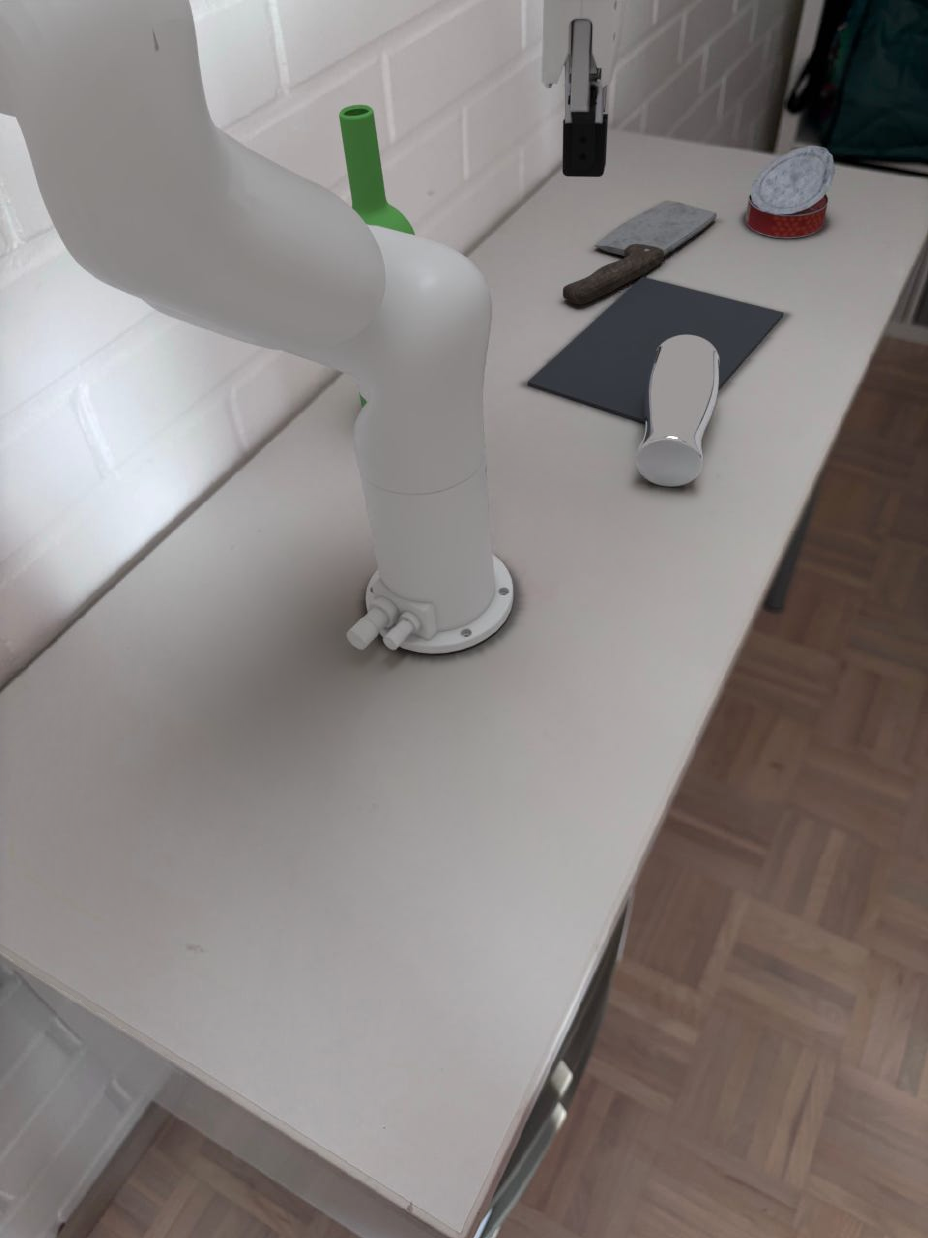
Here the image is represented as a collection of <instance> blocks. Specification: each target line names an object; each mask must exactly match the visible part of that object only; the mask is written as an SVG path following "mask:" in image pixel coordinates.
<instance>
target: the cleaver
mask: <svg viewBox="0 0 928 1238" xmlns="http://www.w3.org/2000/svg"><path fill="white" fill-rule="evenodd" d="M717 216H718V215H717V212H716V211H715V212H714V211H711V210H707V209H704V208H700V207H697V206H693V205H690V204H685V203H683V202H678V201H664V202H661V203H659V204H658V205H655V206H653V207H651V208H649V209H648V210H645V211H644V212H642V213H640V214H637V215H636V216H634V217H633V218H631V219H629V220H628V221H626V222H625V223H622V224H621V225H619V226H618V227H617V228H615V229H614V230H613V231H611V232H610V233H608V234H607V235H605V236H604V237H603V238H601V240H599V241H598V242H597V243H595V244H594V247H596V248H598V249H599V250H602V251H604V252H607V253H609V254H615V255H618V256H623V258H622V259H619V260H616V261H613V262H610V263H608V264H605V265H603V266H600V267H599V268H598V269H596V270H595V271H594V272H593V273H591V274H590V275H588V276H586V277H584V278H581V279H578V280H576V281H574V282H571V283H568V284H566V285H564V286H563V288H562V297H563V299H564V300H565V301H567V302H570V303H573V304H575V305H585V304H587V303H590V302H593V301H594V300H597V299H600V298H601V297H603V296H606V295H607V294H610V293H611V292H613V291H616V290H617V289H619V288H621V287H623V286H625V285H626V284H630V283H631V282H633V281H634V280H636V279H638V278H641V277H642V276H643V275H645V274H646V273H648V272H649V271H651V270H652V269H654V268H655V267H657V266H659V265H660V264H661V263H662V262H663V261H664V259H665V256H667V255H668V254H669V253H671V252H672V251H674V250H675V249H677V248H678V247H680V246H681V245H683V244H685V243H686V242H687V241H689V240H691V239H692V238H693V237H695V236H697V235H698V234H699V233H701V232H702V231H703V230H705V229H706V228H707V227H708V226H709V225H710V224H711V223H713V222H714V221H715V220H716V219H717Z"/></svg>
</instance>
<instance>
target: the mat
mask: <svg viewBox="0 0 928 1238" xmlns="http://www.w3.org/2000/svg"><path fill="white" fill-rule="evenodd" d="M783 317H784V312H783V311H779V310H775V309H771V308H767V307H763V306H759V305H755V304H752V303H748V302H744V301H740V300H736V299H732V298H729V297H723V296H720V295H717V294H713V293H708V292H704V291H701V290H697V289H692V288H689V287H684V286H680V285H676V284H673V283H669V282H664V281H662V280H657V279H653V278H649V277H645V276H641V277H639V279H638V280H637V281H635V283H634V284H633V285H632V286H630V288H628V289H627V290H626V291H625V292H623V294H622V295H620V296H619V297H618V298H617V300H615V301H614V302H613V303H612V304H611V305H609V306H608V308H606V309H605V310H604V311H603V312H602V313H601V314H600V315H599V316H597V318H595V320H594V321H592V322H591V323H590V324H589V325H588V326H587V327H586V328H585V329H583V330H582V331H581V332H580V333H579V334H578V335H577V336H576V337H575V338H574V339H573V340H572V341H571V342H570V343H568V344H567V345H566V346H564V348H562V349H561V351H560V352H558V354H555V356H554V357H553V358H551V360H550V361H548V363H546V364H545V365H544V366H543V367H542V368H541V369H540V370H539V371H537V373H536V374H534V376H532V377H531V378H530V379H529V380H528V381H527V386H530V387H532V388H535V389H539V390H542V391H545V392H548V393H550V394H554V395H556V396H560V397H563V398H566V399H569V400H572V401H575V402H578V403H581V404H585V405H587V406H589V407H594V408H596V409H600V410H603V411H606V412H608V413H612V414H614V415H618V416H621V417H624V418H627V419H630V420H633V421H636V422H639V423H643V424H645V407H644V400H645V388H646V382H647V378H648V374H649V371H650V368H651V365H652V362H653V359H654V355H655V352H656V350H657V349H658V347H659V346H660V345H661V344H662V343H663V342H664V341H666V340H668V339H669V338H672V337H674V336H678V335H695V336H698V337H701V338H703V339H705V340H707V341H708V342H710V343H711V344H712V345H713V346H714V347H715V349H716V350H717V352H718V355H719V360H720V364H719V385H718V391H719V390H720V389H721V388H722V387H723V385H724V384H725V383H726V382H727V381H728V380H729V379H730V377H731V376H733V374H734V373H735V371H736V370H738V368H739V367H740V366H741V365H742V364H743V362H744V361H745V360H746V359H747V358H748V357H749V356H750V354H751V353H752V352H753V351H754V350H755V349H756V348H757V346H758V345H759V344H760V343H761V342H762V340H763V339H765V337H766V336H767V334H768V333H769V332H770V331H771V330H772V329H773V328H774V327H775V326H776V325H777V324H778V323H779V321H780V320H781V318H783Z"/></svg>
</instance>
